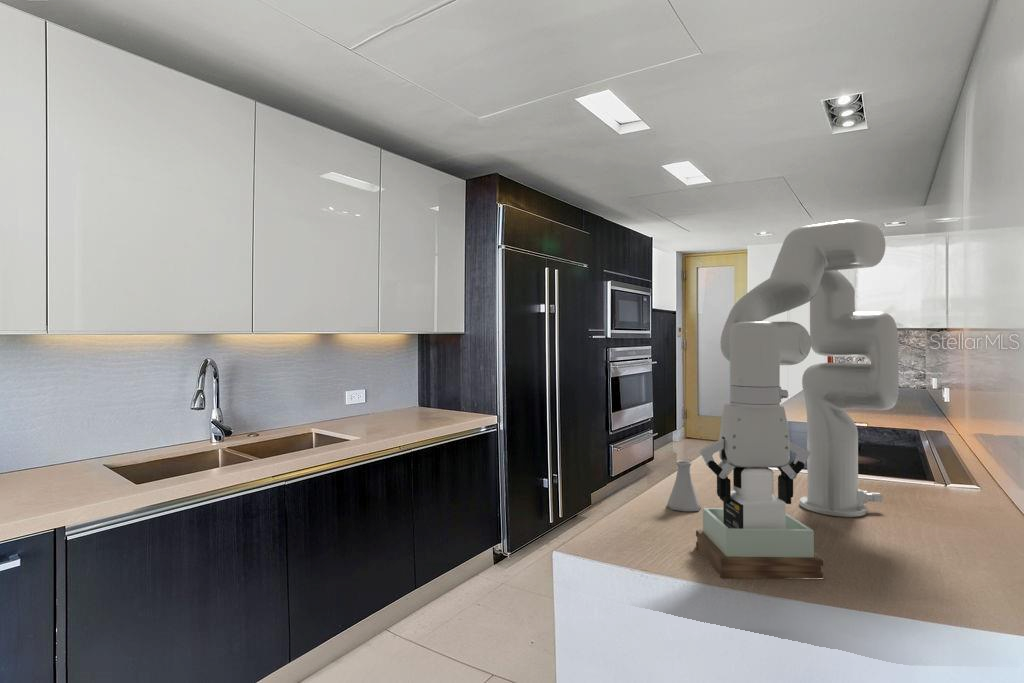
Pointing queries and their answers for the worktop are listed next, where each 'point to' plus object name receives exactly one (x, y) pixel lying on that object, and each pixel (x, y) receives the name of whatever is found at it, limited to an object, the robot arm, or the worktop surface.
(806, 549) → the sage crate
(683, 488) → the flask
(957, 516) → the worktop surface
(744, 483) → the medicine bottle
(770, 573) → the brown wooden flat block
